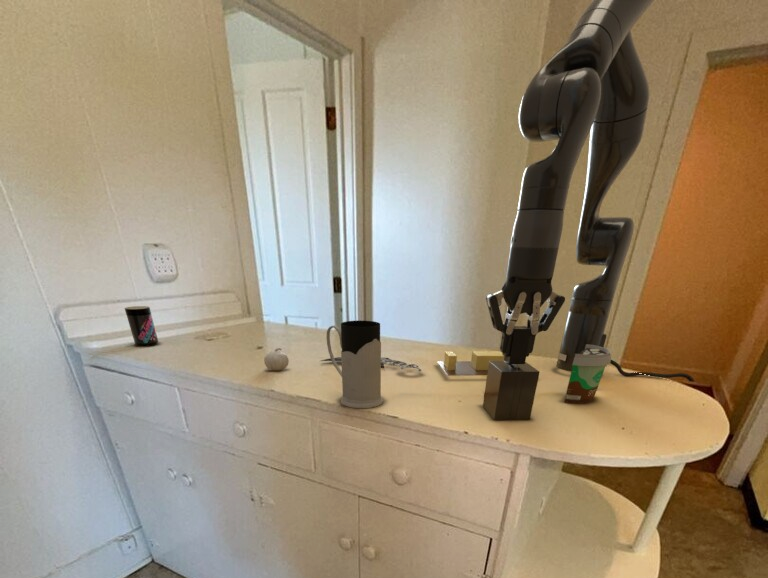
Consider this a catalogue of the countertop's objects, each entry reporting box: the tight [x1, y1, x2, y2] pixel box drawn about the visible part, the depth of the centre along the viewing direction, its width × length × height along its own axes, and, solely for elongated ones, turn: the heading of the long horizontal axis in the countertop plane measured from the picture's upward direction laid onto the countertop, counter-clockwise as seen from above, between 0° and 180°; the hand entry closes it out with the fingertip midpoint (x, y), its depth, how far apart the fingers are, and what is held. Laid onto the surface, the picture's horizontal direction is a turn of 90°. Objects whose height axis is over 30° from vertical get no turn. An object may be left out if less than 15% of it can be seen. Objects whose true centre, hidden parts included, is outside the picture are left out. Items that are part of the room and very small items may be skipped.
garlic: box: [263, 347, 290, 372], centre depth 108 cm, size 6×5×5 cm
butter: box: [470, 350, 504, 370], centre depth 108 cm, size 10×5×4 cm, turn 94°
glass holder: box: [326, 320, 384, 409], centre depth 86 cm, size 9×14×15 cm, turn 47°
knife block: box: [482, 361, 541, 421], centre depth 81 cm, size 7×8×9 cm
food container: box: [563, 344, 612, 404], centre depth 89 cm, size 12×6×10 cm, turn 148°
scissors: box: [320, 356, 423, 372], centre depth 112 cm, size 28×2×10 cm
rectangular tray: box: [437, 360, 488, 377], centre depth 109 cm, size 22×14×1 cm, turn 94°
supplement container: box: [124, 305, 159, 348], centre depth 129 cm, size 7×7×10 cm
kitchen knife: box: [504, 325, 531, 370], centre depth 79 cm, size 3×4×15 cm
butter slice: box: [443, 350, 458, 370], centre depth 107 cm, size 2×5×4 cm, turn 4°
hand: (515, 355), depth 78 cm, fingers closed on kitchen knife, 3 cm apart
